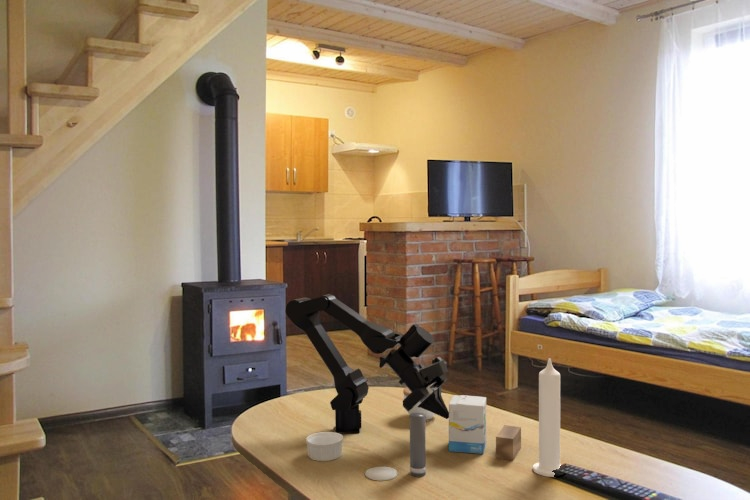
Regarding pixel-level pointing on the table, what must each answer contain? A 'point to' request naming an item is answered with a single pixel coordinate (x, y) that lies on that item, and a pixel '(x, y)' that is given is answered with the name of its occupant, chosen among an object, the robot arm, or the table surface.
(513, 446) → the brown wooden block
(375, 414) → the table surface
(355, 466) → the table surface
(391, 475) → the pad
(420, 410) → the lidded jar
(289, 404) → the table surface
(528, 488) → the table surface
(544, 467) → the candle
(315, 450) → the ramekin
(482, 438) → the ink box
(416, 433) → the grey tapered rod
